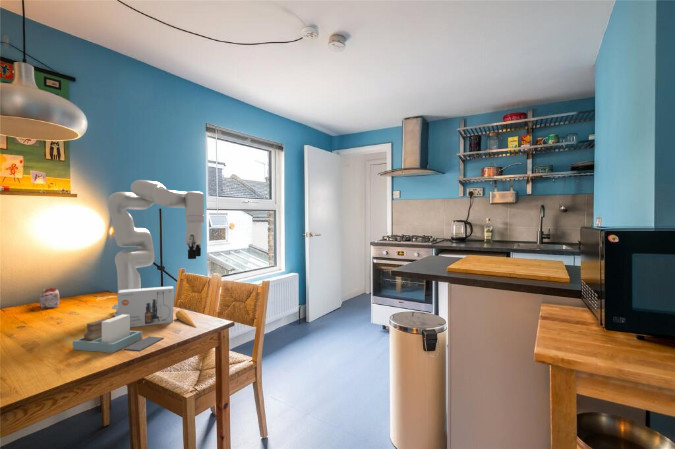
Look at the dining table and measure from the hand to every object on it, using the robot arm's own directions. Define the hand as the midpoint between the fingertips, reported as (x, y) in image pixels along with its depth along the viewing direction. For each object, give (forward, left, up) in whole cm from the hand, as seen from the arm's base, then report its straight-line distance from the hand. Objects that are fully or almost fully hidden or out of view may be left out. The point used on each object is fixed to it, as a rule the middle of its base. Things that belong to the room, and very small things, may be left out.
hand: (194, 257), depth 141 cm
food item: (-92, +11, -30) cm, 97 cm away
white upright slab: (-14, -27, -30) cm, 42 cm away
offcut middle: (-22, -27, -27) cm, 44 cm away
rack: (-18, -27, -30) cm, 44 cm away
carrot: (-5, +1, -30) cm, 31 cm away
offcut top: (-22, -26, -24) cm, 42 cm away
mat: (-4, -24, -30) cm, 38 cm away
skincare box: (-21, -4, -30) cm, 37 cm away
